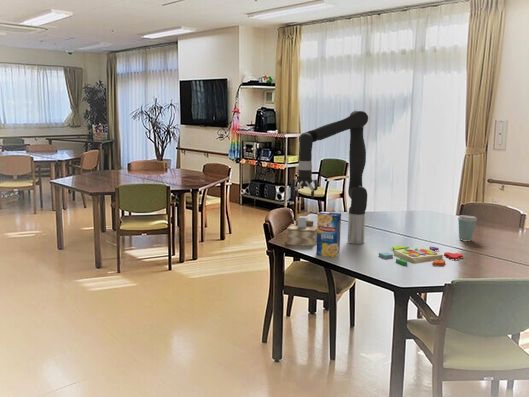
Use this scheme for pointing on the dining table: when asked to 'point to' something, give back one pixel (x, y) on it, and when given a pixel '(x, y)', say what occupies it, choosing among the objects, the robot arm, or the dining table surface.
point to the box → (301, 237)
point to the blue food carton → (328, 234)
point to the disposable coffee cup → (466, 226)
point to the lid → (309, 228)
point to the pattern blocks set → (418, 255)
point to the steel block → (302, 221)
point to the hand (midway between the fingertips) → (304, 197)
